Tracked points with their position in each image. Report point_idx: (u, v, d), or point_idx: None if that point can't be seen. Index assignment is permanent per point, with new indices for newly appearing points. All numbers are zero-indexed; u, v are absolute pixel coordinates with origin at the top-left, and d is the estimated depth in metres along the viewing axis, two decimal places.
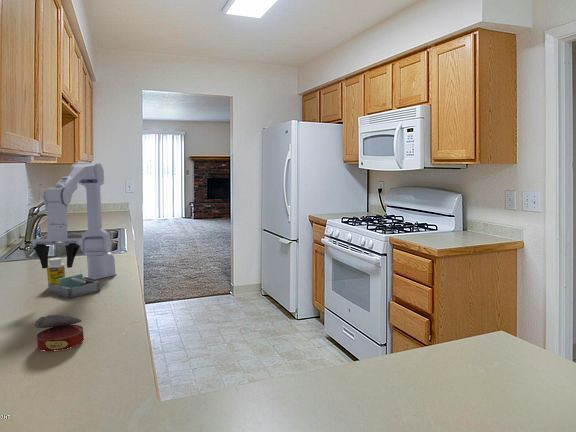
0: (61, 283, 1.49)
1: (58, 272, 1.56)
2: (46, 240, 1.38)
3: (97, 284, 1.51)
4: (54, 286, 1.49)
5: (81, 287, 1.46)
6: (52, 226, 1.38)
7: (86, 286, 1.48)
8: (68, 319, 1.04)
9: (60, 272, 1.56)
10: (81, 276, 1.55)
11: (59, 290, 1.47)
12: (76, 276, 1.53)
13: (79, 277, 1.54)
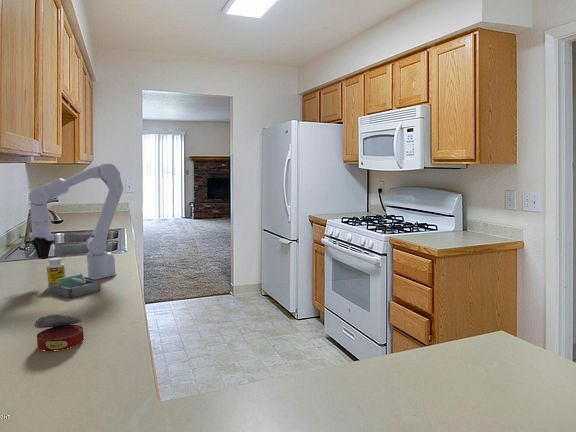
0: (61, 283, 1.49)
1: (58, 272, 1.56)
2: (31, 235, 1.61)
3: (97, 284, 1.51)
4: (54, 286, 1.49)
5: (81, 287, 1.46)
6: (32, 224, 1.59)
7: (86, 286, 1.48)
8: (68, 319, 1.04)
9: (60, 272, 1.56)
10: (81, 276, 1.55)
11: (59, 290, 1.47)
12: (76, 276, 1.53)
13: (79, 277, 1.54)
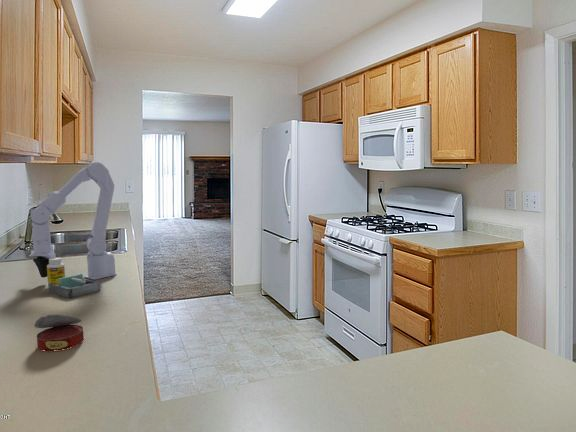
0: (61, 283, 1.49)
1: (58, 272, 1.56)
2: None
3: (97, 284, 1.51)
4: (54, 286, 1.49)
5: (81, 287, 1.46)
6: (33, 242, 1.59)
7: (86, 286, 1.48)
8: (68, 319, 1.04)
9: (60, 272, 1.56)
10: (81, 276, 1.55)
11: (59, 290, 1.47)
12: (76, 276, 1.53)
13: (79, 277, 1.54)
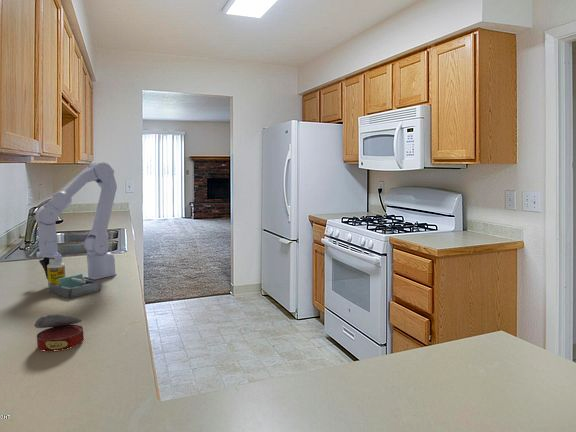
0: (61, 283, 1.49)
1: (58, 272, 1.56)
2: None
3: (97, 284, 1.51)
4: (54, 286, 1.49)
5: (81, 287, 1.46)
6: (39, 243, 1.57)
7: (86, 286, 1.48)
8: (68, 319, 1.04)
9: (60, 272, 1.56)
10: (81, 276, 1.55)
11: (59, 290, 1.47)
12: (76, 276, 1.53)
13: (79, 277, 1.54)
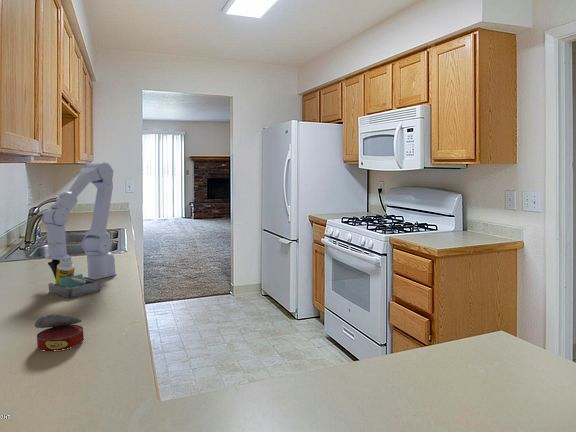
0: (61, 283, 1.49)
1: (68, 275, 1.52)
2: (47, 257, 1.55)
3: (97, 284, 1.51)
4: (54, 286, 1.49)
5: (81, 287, 1.46)
6: (48, 245, 1.53)
7: (86, 286, 1.48)
8: (68, 319, 1.04)
9: (70, 274, 1.52)
10: (81, 276, 1.55)
11: (59, 290, 1.47)
12: (76, 276, 1.53)
13: (79, 277, 1.54)
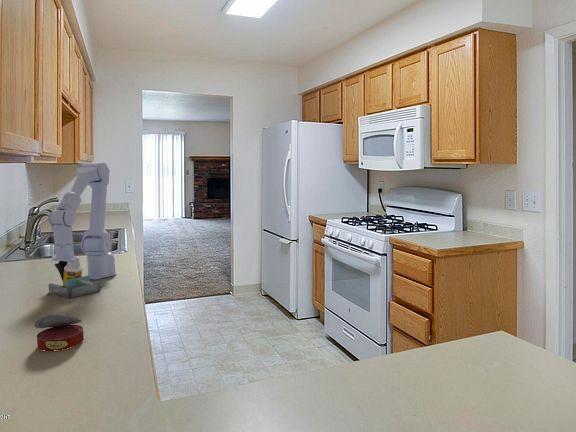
0: (68, 285, 1.47)
1: (75, 277, 1.49)
2: None
3: (97, 284, 1.51)
4: (54, 286, 1.49)
5: (81, 287, 1.46)
6: (55, 246, 1.50)
7: (86, 286, 1.48)
8: (68, 319, 1.04)
9: (77, 276, 1.50)
10: (87, 277, 1.52)
11: (59, 290, 1.47)
12: (83, 278, 1.51)
13: (86, 279, 1.52)
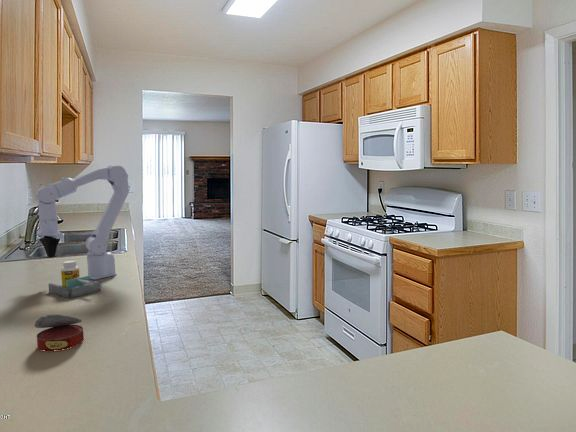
0: (68, 285, 1.46)
1: (73, 275, 1.50)
2: None
3: (97, 284, 1.51)
4: (54, 286, 1.49)
5: (81, 287, 1.46)
6: (40, 222, 1.59)
7: (86, 286, 1.48)
8: (68, 319, 1.04)
9: (75, 275, 1.51)
10: (88, 277, 1.52)
11: (59, 290, 1.47)
12: (83, 278, 1.51)
13: (86, 279, 1.51)
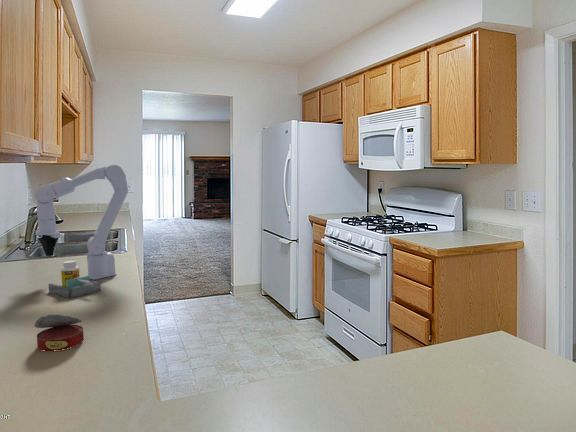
0: (68, 285, 1.46)
1: (73, 275, 1.50)
2: None
3: (97, 284, 1.51)
4: (54, 286, 1.49)
5: (81, 287, 1.46)
6: (38, 221, 1.61)
7: (86, 286, 1.48)
8: (68, 319, 1.04)
9: (75, 275, 1.51)
10: (88, 277, 1.52)
11: (59, 290, 1.47)
12: (83, 278, 1.51)
13: (86, 279, 1.51)
